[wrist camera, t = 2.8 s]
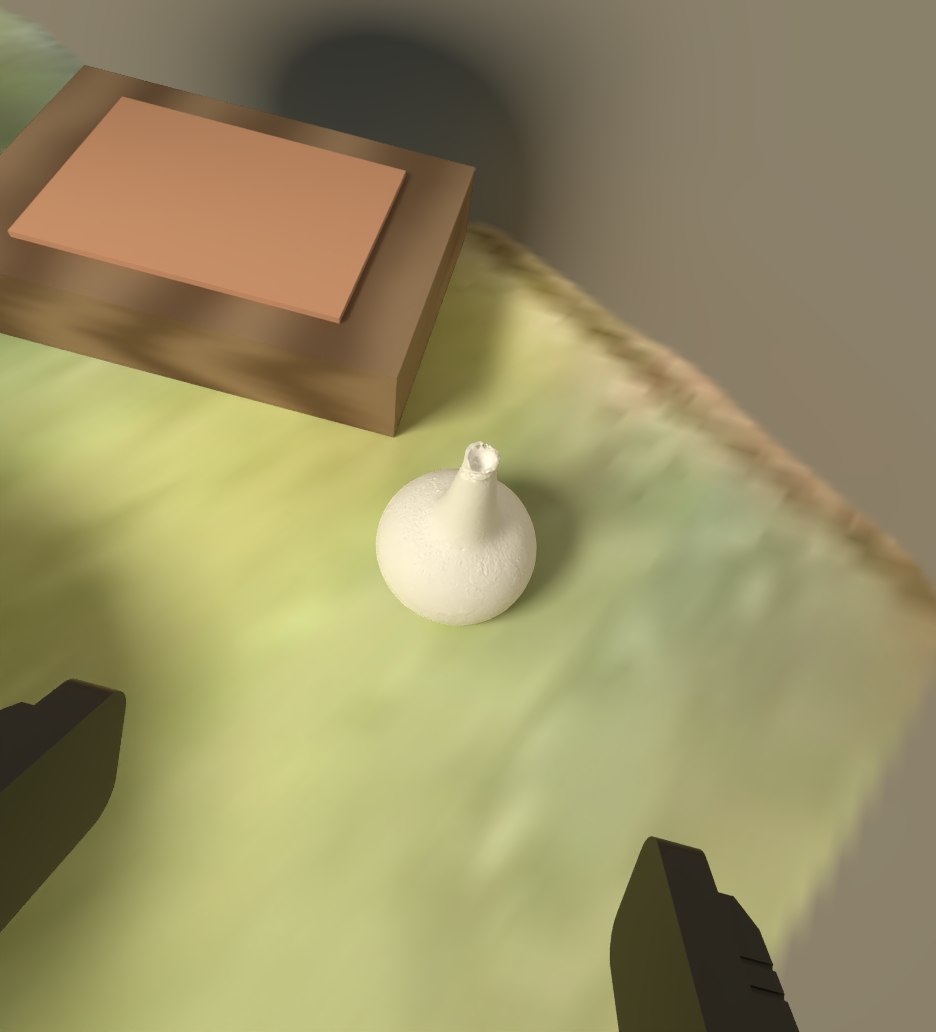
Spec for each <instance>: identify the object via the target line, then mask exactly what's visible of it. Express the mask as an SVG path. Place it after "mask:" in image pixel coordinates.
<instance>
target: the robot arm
mask: <svg viewBox="0 0 936 1032" xmlns="http://www.w3.org/2000/svg"><path fill="white" fill-rule="evenodd" d="M125 707H126V698H125V695H124V693H123V692H121V691H118V690H114V689H110V688H106V687H103V686H99V685H95V684H92V683H88V682H84V681H81V680H77V679H69V680H67V681H66V682H64V683H63V684H61V685H60V686H59V687H57V688H56V689H55V690H53V691H52V692H51V693H49V694H48V695H47V696H46V697H44V698H43V699H42V700H40V701H39V702H38V703H36V704H35V705H30V704H27V703H23V702H20V703H18V704H15V705H12V706H10V707H7V708H4V709H2V710H0V932H1V931H2V929H3V928H4V927H5V926H6V925H7V924H8V923H9V921H10V920H11V919H12V918H13V917H14V916H15V915H16V913H17V912H18V911H19V910H20V909H21V908H22V907H23V905H24V904H25V903H26V902H27V901H28V900H29V899H30V897H31V896H32V895H33V894H34V893H35V892H36V890H37V889H38V888H39V887H40V886H41V885H42V884H43V882H44V881H45V880H46V879H47V878H48V877H49V876H50V874H51V873H52V872H53V871H54V870H55V869H56V868H57V866H58V865H59V864H60V863H61V862H62V861H63V860H64V858H65V857H66V856H67V855H68V854H69V853H70V851H71V850H72V849H73V848H74V847H75V846H76V845H77V843H78V842H79V841H80V840H81V839H82V838H83V837H84V835H85V834H86V833H87V832H88V831H89V830H90V829H91V827H92V826H93V825H94V824H95V823H96V821H97V820H98V818H99V817H100V815H101V814H102V812H103V810H104V809H105V807H106V805H107V803H108V800H109V798H110V796H111V793H112V790H113V787H114V783H115V779H116V772H117V765H118V758H119V751H120V744H121V736H122V729H123V722H124V715H125ZM610 967H611V975H612V983H613V990H614V997H615V1005H616V1012H617V1020H618V1027H619V1032H799V1030H798V1027H797V1025H796V1022H795V1020H794V1017H793V1015H792V1012H791V1009H790V1007H789V1004H788V1002H786V1001H784V991H783V989H782V986H781V984H780V981H779V979H778V976H777V974H776V972H775V971H773V970H772V967H773V963H772V961H771V958H770V956H769V953H768V951H767V948H766V945H765V943H764V940H763V938H762V935H761V933H760V930H759V929H758V927H757V926H756V925H755V923H754V922H753V921H752V920H751V918H750V917H749V916H748V914H747V913H746V912H745V911H744V909H743V908H742V907H741V905H740V904H739V903H738V901H737V900H736V899H735V898H734V896H730V895H726V894H723V893H719V892H718V891H717V888H716V885H715V882H714V879H713V876H712V873H711V870H710V868H709V865H708V862H707V859H706V856H705V854H704V853H703V851H702V850H700V849H697V848H693V847H690V846H686V845H682V844H678V843H675V842H671V841H667V840H664V839H660V838H656V837H652V836H651V837H649V838H647V840H646V841H645V843H644V844H643V847H642V849H641V851H640V854H639V857H638V859H637V862H636V865H635V867H634V870H633V872H632V875H631V878H630V880H629V883H628V886H627V888H626V891H625V894H624V896H623V899H622V901H621V904H620V907H619V909H618V912H617V915H616V918H615V921H614V925H613V929H612V935H611V943H610Z"/></svg>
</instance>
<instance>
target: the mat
mask: <svg viewBox="0 0 936 1032" xmlns="http://www.w3.org/2000/svg"><path fill="white" fill-rule="evenodd" d="M405 177H406V171H405V170H401V169H397V168H393V167H389V166H386V165H382V164H378V163H374V162H370V161H367V160H363V159H359V158H355V157H351V156H347V155H344V154H340V153H336V152H332V151H328V150H325V149H321V148H317V147H313V146H309V145H305V144H302V143H298V142H294V141H290V140H286V139H283V138H279V137H275V136H271V135H267V134H264V133H260V132H256V131H252V130H248V129H244V128H241V127H237V126H233V125H229V124H225V123H222V122H218V121H214V120H210V119H206V118H203V117H199V116H195V115H191V114H187V113H183V112H180V111H176V110H172V109H168V108H164V107H161V106H157V105H153V104H149V103H145V102H142V101H138V100H134V99H130V98H126V97H121V98H120V100H119V101H118V102H117V103H116V104H115V105H114V107H113V108H112V109H111V110H110V111H109V112H108V114H107V115H106V116H105V117H104V118H103V119H102V121H101V122H100V123H99V124H98V125H97V126H96V128H95V129H94V130H93V131H92V132H91V134H90V135H89V136H88V137H87V138H86V139H85V141H84V142H83V143H82V144H81V145H80V146H79V148H78V149H77V150H76V151H75V152H74V153H73V155H72V156H71V157H70V158H69V159H68V160H67V162H66V163H65V164H64V165H63V166H62V167H61V169H60V170H59V171H58V172H57V173H56V174H55V176H54V177H53V178H52V179H51V180H50V181H49V183H48V184H47V185H46V186H45V187H44V188H43V190H42V191H41V192H40V193H39V194H38V196H37V197H36V198H35V199H34V200H33V201H32V203H31V204H30V205H29V206H28V207H27V208H26V210H25V211H24V212H23V213H22V214H21V215H20V217H19V218H18V219H17V220H16V221H15V222H14V224H13V225H12V226H11V227H10V228H9V229H8V233H9V235H10V237H13V238H17V239H21V240H25V241H29V242H32V243H36V244H40V245H44V246H47V247H51V248H55V249H59V250H63V251H66V252H70V253H74V254H78V255H82V256H85V257H89V258H93V259H97V260H100V261H104V262H108V263H112V264H116V265H119V266H123V267H127V268H131V269H135V270H138V271H142V272H146V273H150V274H153V275H157V276H161V277H165V278H169V279H172V280H176V281H180V282H184V283H187V284H191V285H195V286H199V287H203V288H206V289H210V290H214V291H218V292H222V293H225V294H229V295H233V296H237V297H240V298H244V299H248V300H252V301H256V302H259V303H263V304H267V305H271V306H275V307H278V308H282V309H286V310H290V311H293V312H297V313H301V314H305V315H309V316H312V317H316V318H320V319H324V320H327V321H331V322H335V323H339V324H340V321H341V319H342V317H343V315H344V312H345V310H346V308H347V306H348V304H349V301H350V299H351V297H352V295H353V292H354V290H355V288H356V286H357V284H358V281H359V279H360V277H361V275H362V272H363V270H364V268H365V266H366V264H367V261H368V259H369V257H370V255H371V252H372V250H373V248H374V246H375V244H376V241H377V239H378V237H379V235H380V232H381V230H382V228H383V226H384V223H385V221H386V219H387V217H388V215H389V212H390V210H391V208H392V206H393V203H394V201H395V199H396V197H397V195H398V192H399V190H400V188H401V186H402V183H403V181H404V179H405Z"/></svg>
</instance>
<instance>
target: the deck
mask: <svg viewBox="0 0 936 1032" xmlns="http://www.w3.org/2000/svg"><path fill="white" fill-rule="evenodd" d="M121 97H126V98H130V99H134V100H138V101H142V102H145V103H149V104H153V105H157V106H161V107H164V108H168V109H172V110H176V111H180V112H183V113H187V114H191V115H195V116H199V117H203V118H206V119H210V120H214V121H218V122H222V123H225V124H229V125H233V126H237V127H241V128H244V129H248V130H252V131H256V132H260V133H264V134H267V135H271V136H275V137H279V138H283V139H286V140H290V141H294V142H298V143H302V144H305V145H309V146H313V147H317V148H321V149H325V150H328V151H332V152H336V153H340V154H344V155H347V156H351V157H355V158H359V159H363V160H367V161H370V162H374V163H378V164H382V165H386V166H389V167H393V168H397V169H401V170H405V171H406V177H405V179H404V181H403V183H402V186H401V188H400V190H399V192H398V195H397V197H396V199H395V201H394V203H393V206H392V208H391V210H390V212H389V215H388V217H387V219H386V221H385V223H384V226H383V228H382V230H381V232H380V235H379V237H378V239H377V241H376V244H375V246H374V248H373V250H372V252H371V255H370V257H369V259H368V261H367V264H366V266H365V268H364V270H363V272H362V275H361V277H360V279H359V281H358V284H357V286H356V288H355V290H354V292H353V295H352V297H351V299H350V301H349V304H348V306H347V308H346V310H345V312H344V315H343V317H342V319H341V321H340V324H339V323H335V322H331V321H327V320H324V319H320V318H316V317H312V316H309V315H305V314H301V313H297V312H293V311H290V310H286V309H282V308H278V307H275V306H271V305H267V304H263V303H259V302H256V301H252V300H248V299H244V298H240V297H237V296H233V295H229V294H225V293H222V292H218V291H214V290H210V289H206V288H203V287H199V286H195V285H191V284H187V283H184V282H180V281H176V280H172V279H169V278H165V277H161V276H157V275H153V274H150V273H146V272H142V271H138V270H135V269H131V268H127V267H123V266H119V265H116V264H112V263H108V262H104V261H100V260H97V259H93V258H89V257H85V256H82V255H78V254H74V253H70V252H66V251H63V250H59V249H55V248H51V247H47V246H44V245H40V244H36V243H32V242H29V241H25V240H21V239H17V238H13V237H10V235H9V233H8V229H9V228H10V227H11V226H12V225H13V224H14V222H15V221H16V220H17V219H18V218H19V217H20V215H21V214H22V213H23V212H24V211H25V210H26V208H27V207H28V206H29V205H30V204H31V203H32V201H33V200H34V199H35V198H36V197H37V196H38V194H39V193H40V192H41V191H42V190H43V188H44V187H45V186H46V185H47V184H48V183H49V181H50V180H51V179H52V178H53V177H54V176H55V174H56V173H57V172H58V171H59V170H60V169H61V167H62V166H63V165H64V164H65V163H66V162H67V160H68V159H69V158H70V157H71V156H72V155H73V153H74V152H75V151H76V150H77V149H78V148H79V146H80V145H81V144H82V143H83V142H84V141H85V139H86V138H87V137H88V136H89V135H90V134H91V132H92V131H93V130H94V129H95V128H96V126H97V125H98V124H99V123H100V122H101V121H102V119H103V118H104V117H105V116H106V115H107V114H108V112H109V111H110V110H111V109H112V108H113V107H114V105H115V104H116V103H117V102H118V101H119V100H120V98H121ZM474 174H475V167H472V166H468V165H464V164H460V163H457V162H453V161H448V160H445V159H441V158H438V157H433V156H430V155H426V154H422V153H418V152H415V151H411V150H407V149H403V148H399V147H395V146H392V145H388V144H384V143H380V142H376V141H372V140H369V139H365V138H361V137H357V136H354V135H350V134H346V133H342V132H338V131H334V130H331V129H327V128H323V127H319V126H315V125H311V124H308V123H304V122H300V121H296V120H292V119H289V118H285V117H281V116H277V115H273V114H269V113H266V112H262V111H258V110H254V109H250V108H246V107H243V106H239V105H235V104H231V103H228V102H224V101H220V100H216V99H212V98H208V97H204V96H201V95H197V94H193V93H189V92H185V91H182V90H178V89H174V88H170V87H167V86H163V85H159V84H154V83H151V82H147V81H144V80H139V79H136V78H132V77H128V76H124V75H121V74H117V73H113V72H109V71H105V70H102V69H98V68H94V67H90V66H86V65H84V66H83V67H82V68H81V69H80V70H79V71H78V72H77V74H76V75H75V76H74V77H73V78H72V79H71V80H70V81H69V82H68V83H67V84H66V85H65V86H64V87H63V88H62V90H61V91H60V92H59V93H58V94H57V95H56V96H55V97H54V98H53V99H52V100H51V101H50V102H49V103H48V104H47V105H46V107H45V108H44V109H43V110H42V111H41V112H40V113H39V114H38V115H37V116H36V117H35V118H34V119H33V120H32V121H31V122H30V124H29V125H28V126H27V127H26V128H25V129H24V130H23V131H22V132H21V133H20V134H19V135H18V136H17V137H16V138H15V139H14V141H13V142H12V143H11V144H10V145H9V146H8V147H7V148H6V149H5V150H4V151H3V152H2V153H1V154H0V333H3V334H7V335H11V336H14V337H18V338H22V339H26V340H29V341H33V342H37V343H41V344H45V345H48V346H52V347H56V348H60V349H63V350H67V351H71V352H75V353H78V354H82V355H86V356H90V357H93V358H97V359H101V360H105V361H109V362H112V363H116V364H120V365H124V366H127V367H131V368H135V369H139V370H142V371H146V372H150V373H154V374H158V375H161V376H165V377H169V378H173V379H176V380H180V381H184V382H188V383H191V384H195V385H199V386H203V387H206V388H210V389H214V390H218V391H222V392H225V393H229V394H233V395H237V396H240V397H244V398H248V399H252V400H255V401H259V402H263V403H267V404H271V405H274V406H278V407H282V408H286V409H289V410H293V411H297V412H301V413H304V414H308V415H312V416H316V417H319V418H323V419H327V420H331V421H335V422H338V423H342V424H346V425H350V426H353V427H357V428H361V429H365V430H368V431H372V432H376V433H380V434H384V435H387V436H391V437H394V435H395V432H396V429H397V426H398V424H399V421H400V418H401V415H402V412H403V410H404V407H405V404H406V401H407V398H408V396H409V393H410V390H411V387H412V384H413V381H414V379H415V376H416V373H417V370H418V367H419V365H420V362H421V359H422V356H423V353H424V351H425V348H426V345H427V342H428V339H429V337H430V334H431V331H432V328H433V325H434V323H435V320H436V317H437V314H438V311H439V308H440V306H441V303H442V300H443V297H444V294H445V292H446V289H447V286H448V283H449V280H450V278H451V275H452V272H453V269H454V266H455V264H456V261H457V258H458V255H459V252H460V250H461V247H462V244H463V241H464V238H465V235H466V230H467V223H468V216H469V209H470V202H471V195H472V188H473V181H474Z"/></svg>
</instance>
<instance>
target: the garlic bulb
mask: <svg viewBox="0 0 936 1032" xmlns="http://www.w3.org/2000/svg"><path fill="white" fill-rule="evenodd" d="M479 444H481V446H480V447H477V446H478V445H479ZM483 444H484V442H481V441H479V442H476V443H472V444H470V446H468V447H467V449H466V451H465V458H464V461H463V464H462V466H461V467H460V469H443V470H437V471H433V472H430V473H427V474H424V475H422V476H420V477H418V478H416V479H414V480H412V481H411V482H409V483H408V484H407V485H405V486H404V487H403V488H401V489H400V490H399V491H398V492H397V493H396V495H395V496H394V497H393V498H392V499H391V501H390V502H389V503H388V505H387V507H386V508H385V510H384V512H383V514H382V517H381V519H380V522H379V526H378V531H377V538H376V552H377V559H378V564H379V567H380V570H381V573H382V575H383V577H384V579H385V581H386V583H387V585H388V586H389V588H390V590H391V591H392V592H393V593H394V595H395V596H396V597H397V598H398V599H399V600H400V602H401V603H402V604H403V605H405V606H407V607H408V608H409V609H411V610H412V611H413V612H415V613H416V614H418V615H420V616H422V617H424V618H426V619H429V620H431V621H434V622H439V623H443V624H448V625H471V624H477V623H481V622H484V621H487V620H489V619H492V618H494V617H496V616H497V615H500V614H501V613H503V612H504V611H506V610H507V609H508V608H509V607H510V606H511V605H512V604H513V603H514V602H515V601H516V600H517V599H518V598H519V597H520V596H521V594H522V593H523V591H524V590H525V588H526V586H527V585H528V583H529V581H530V578H531V576H532V573H533V570H534V566H535V561H536V548H537V543H536V535H535V530H534V527H533V523H532V521H531V518H530V516H529V514H528V512H527V510H526V508H525V506H524V505H523V503H522V502H521V501H520V499H519V498H518V497H517V496H516V495H515V494H514V492H513V491H511V490H510V489H509V488H508V487H507V486H505V485H504V484H503V483H501V482H500V481H498V480H497V469H496V468H497V467H498V465H499V462H500V460H501V459H500V455H499V453H498V450H497V451H496V450H495V448H493V447H491V445H489V447H488V443H486V445H487V447H484V446H483Z"/></svg>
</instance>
